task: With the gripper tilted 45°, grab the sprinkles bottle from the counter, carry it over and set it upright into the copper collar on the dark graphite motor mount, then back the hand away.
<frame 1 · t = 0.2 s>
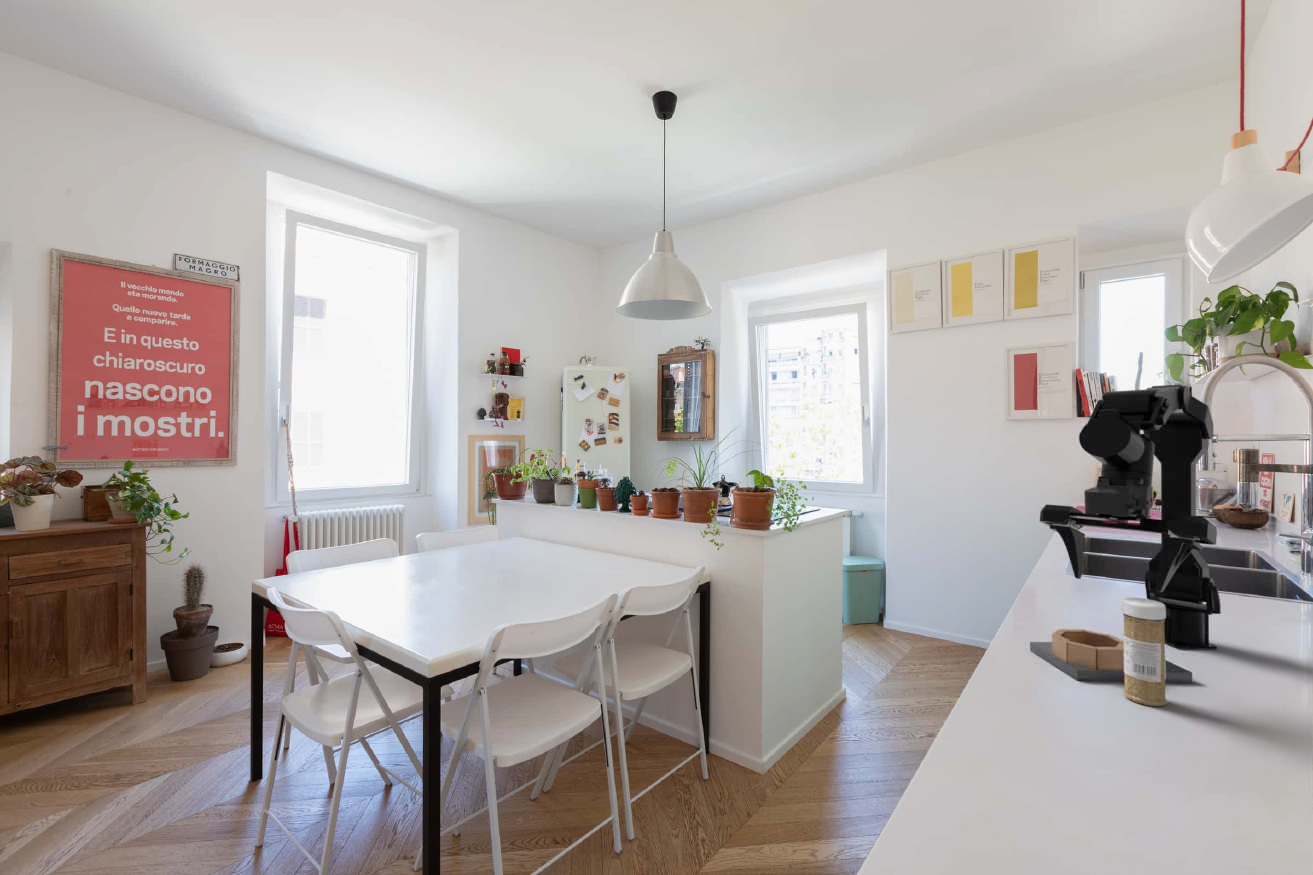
hand: (1116, 584, 81), 15 cm above the countertop, tool tilted 15°, fingers open, 9 cm apart
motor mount: (1089, 667, 90), on the countertop
sprinkles bottle: (1144, 701, 79), on the countertop
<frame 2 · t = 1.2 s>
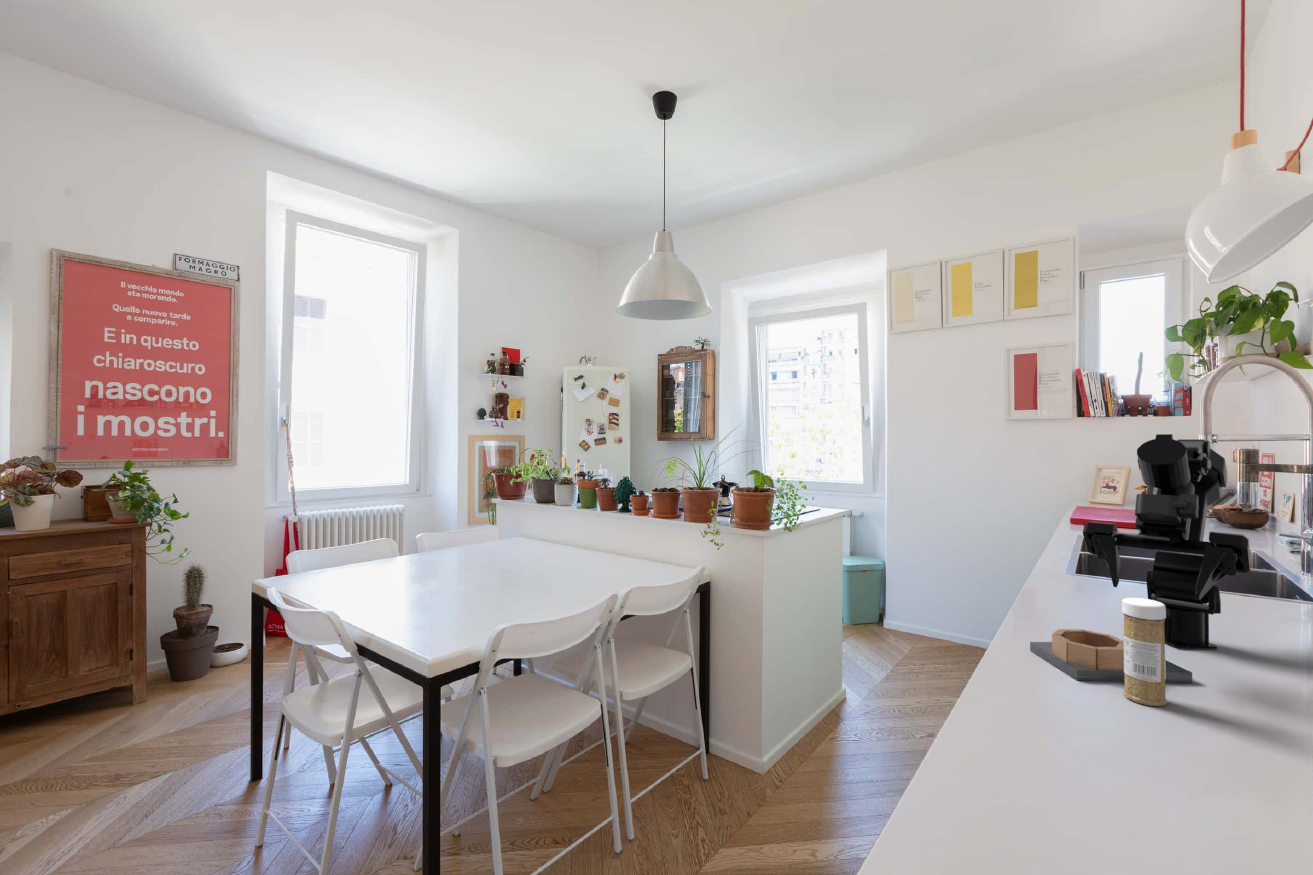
hand: (1154, 591, 85), 13 cm above the countertop, tool tilted 45°, fingers open, 9 cm apart
nothing on the countertop moved.
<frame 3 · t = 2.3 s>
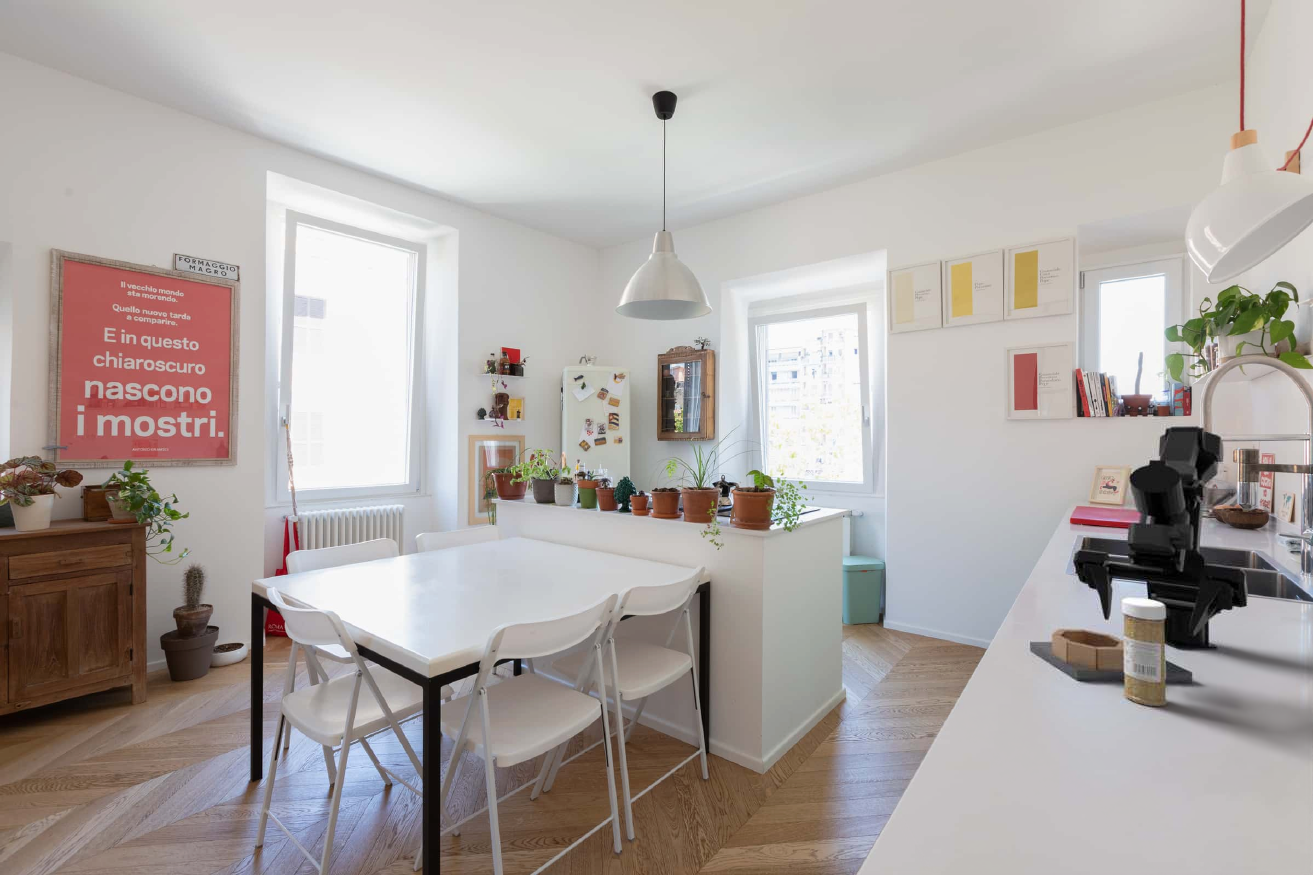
hand: (1146, 625, 81), 10 cm above the countertop, tool tilted 45°, fingers open, 9 cm apart
nothing on the countertop moved.
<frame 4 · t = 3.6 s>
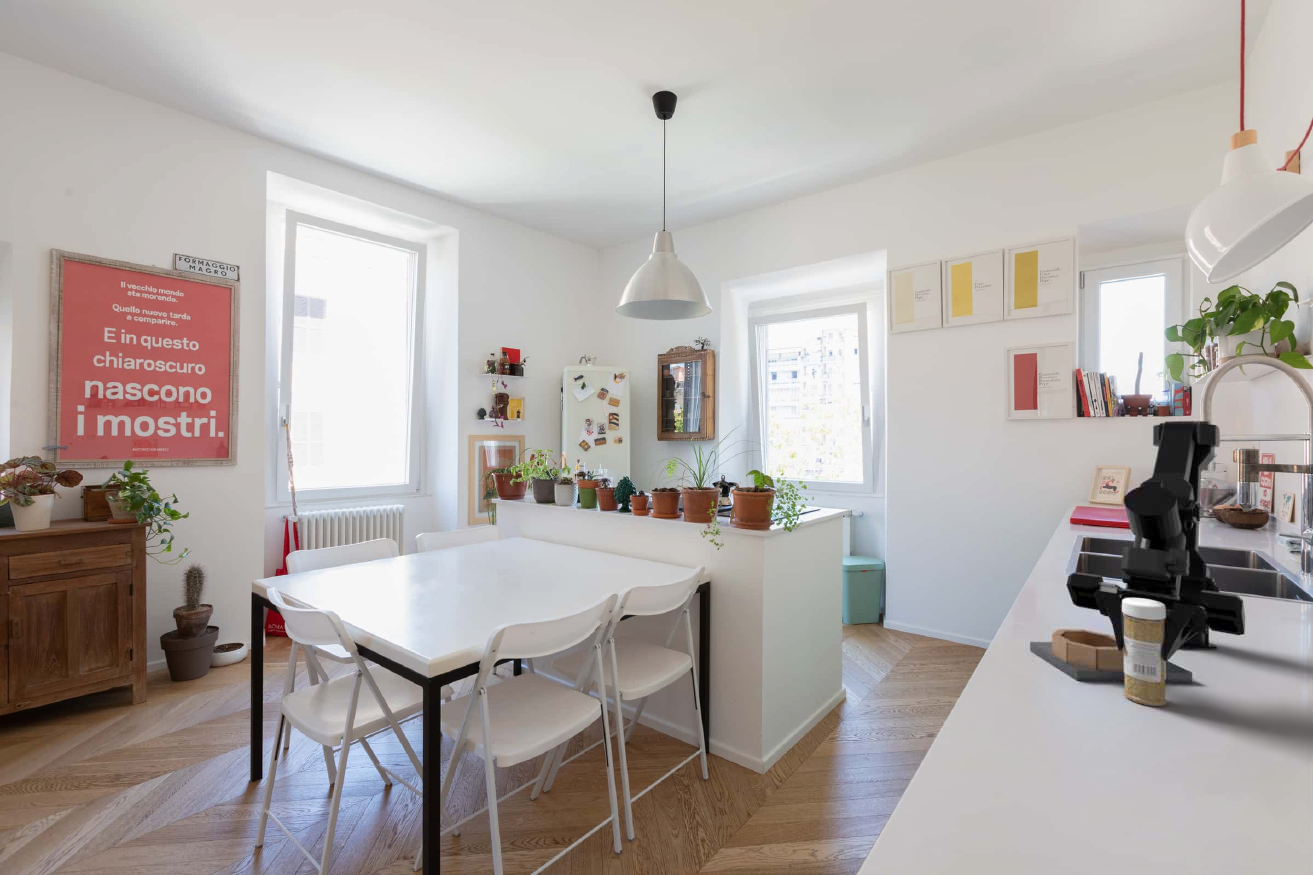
hand: (1141, 653, 79), 7 cm above the countertop, tool tilted 45°, fingers closed on sprinkles bottle, 4 cm apart
sprinkles bottle: (1144, 701, 79), on the countertop, touching gripper
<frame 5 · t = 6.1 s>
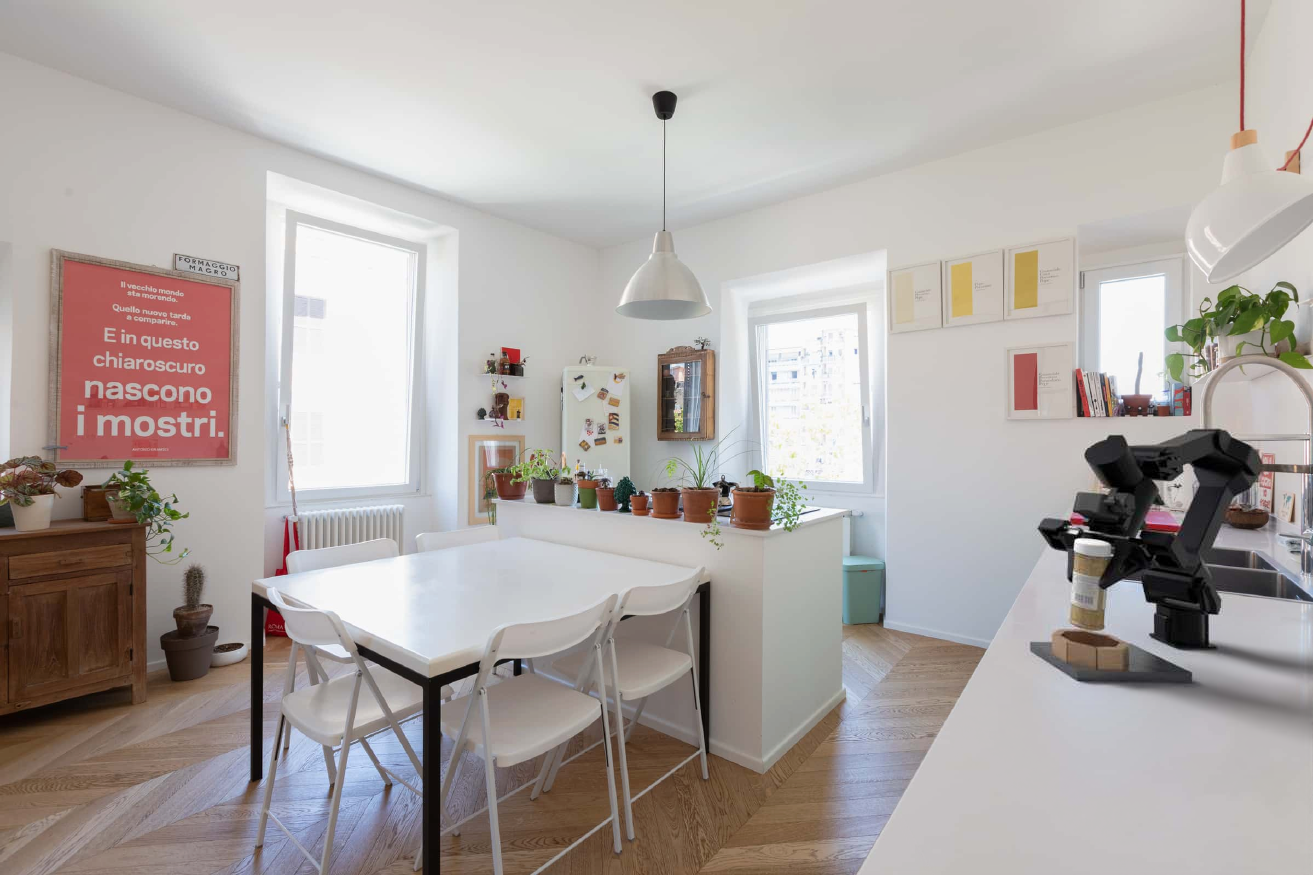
hand: (1085, 584, 90), 13 cm above the countertop, tool tilted 45°, fingers closed on sprinkles bottle, 4 cm apart
sprinkles bottle: (1085, 627, 91), point 6 cm above the countertop, touching gripper
when the fingers open (9 cm above the countertop, at t = 7.3 s): sprinkles bottle stays where it is, resting on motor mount.
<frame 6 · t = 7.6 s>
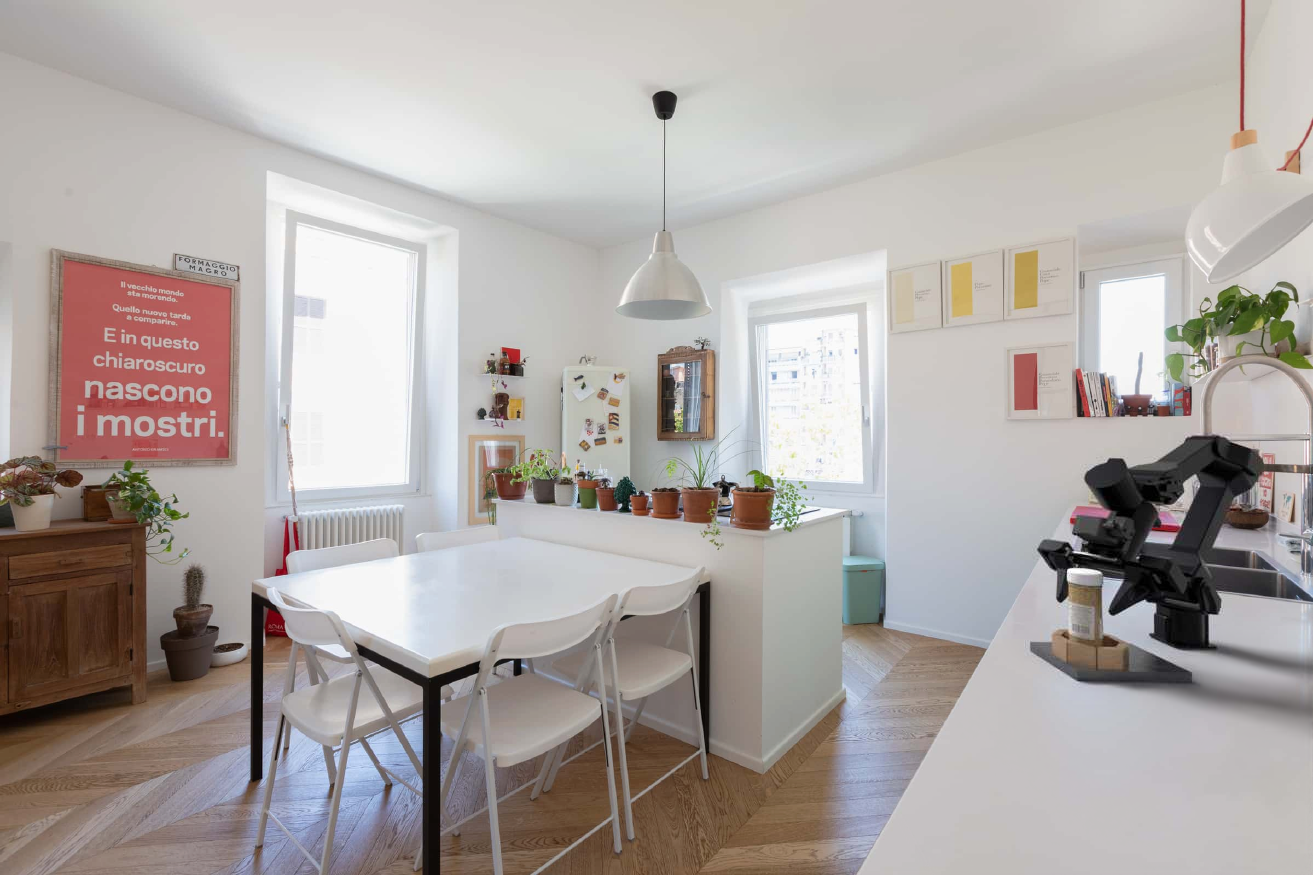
hand: (1083, 607, 90), 10 cm above the countertop, tool tilted 45°, fingers open, 7 cm apart
sprinkles bottle: (1085, 657, 91), point 1 cm above the countertop, touching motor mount
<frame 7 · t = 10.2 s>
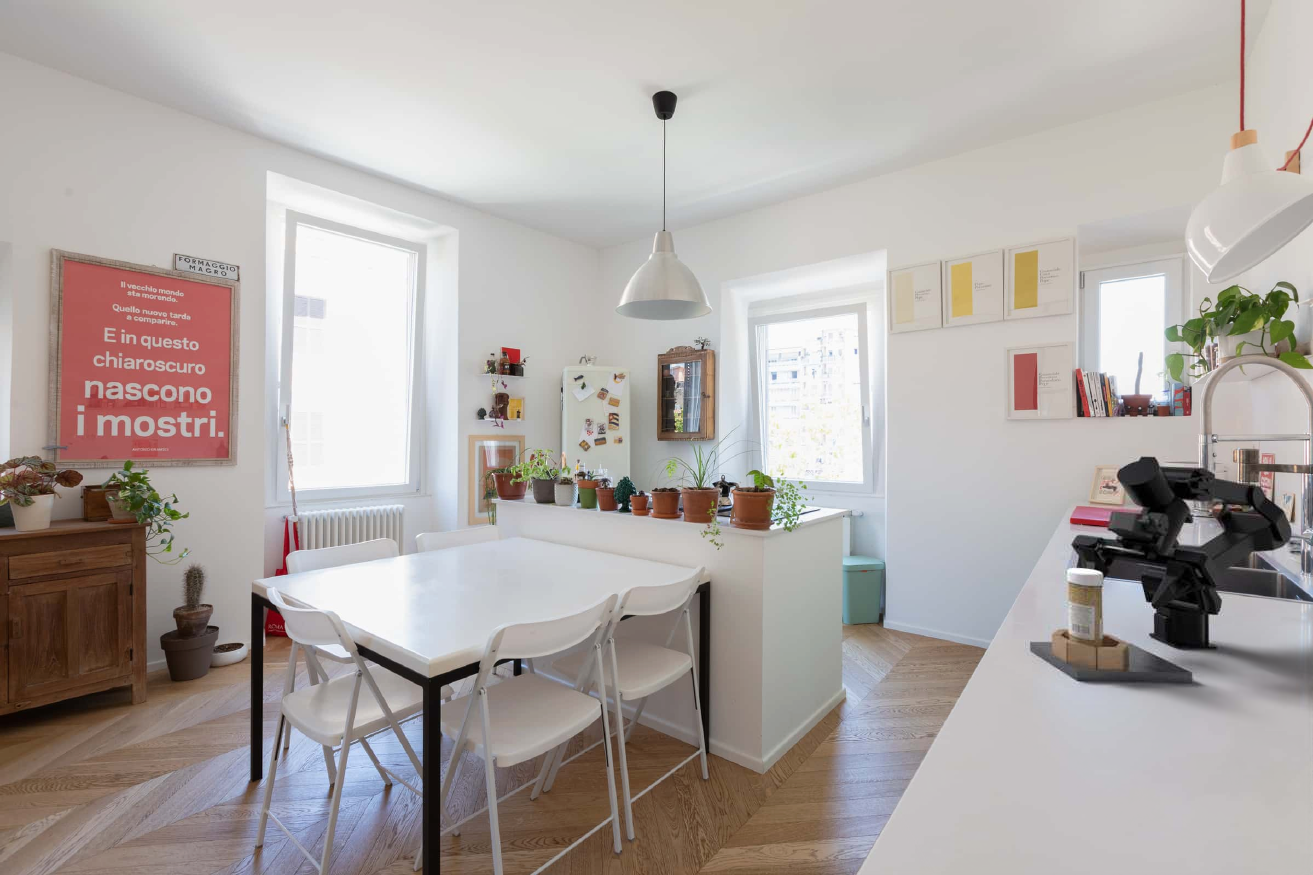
hand: (1119, 599, 94), 10 cm above the countertop, tool tilted 45°, fingers open, 9 cm apart
nothing on the countertop moved.
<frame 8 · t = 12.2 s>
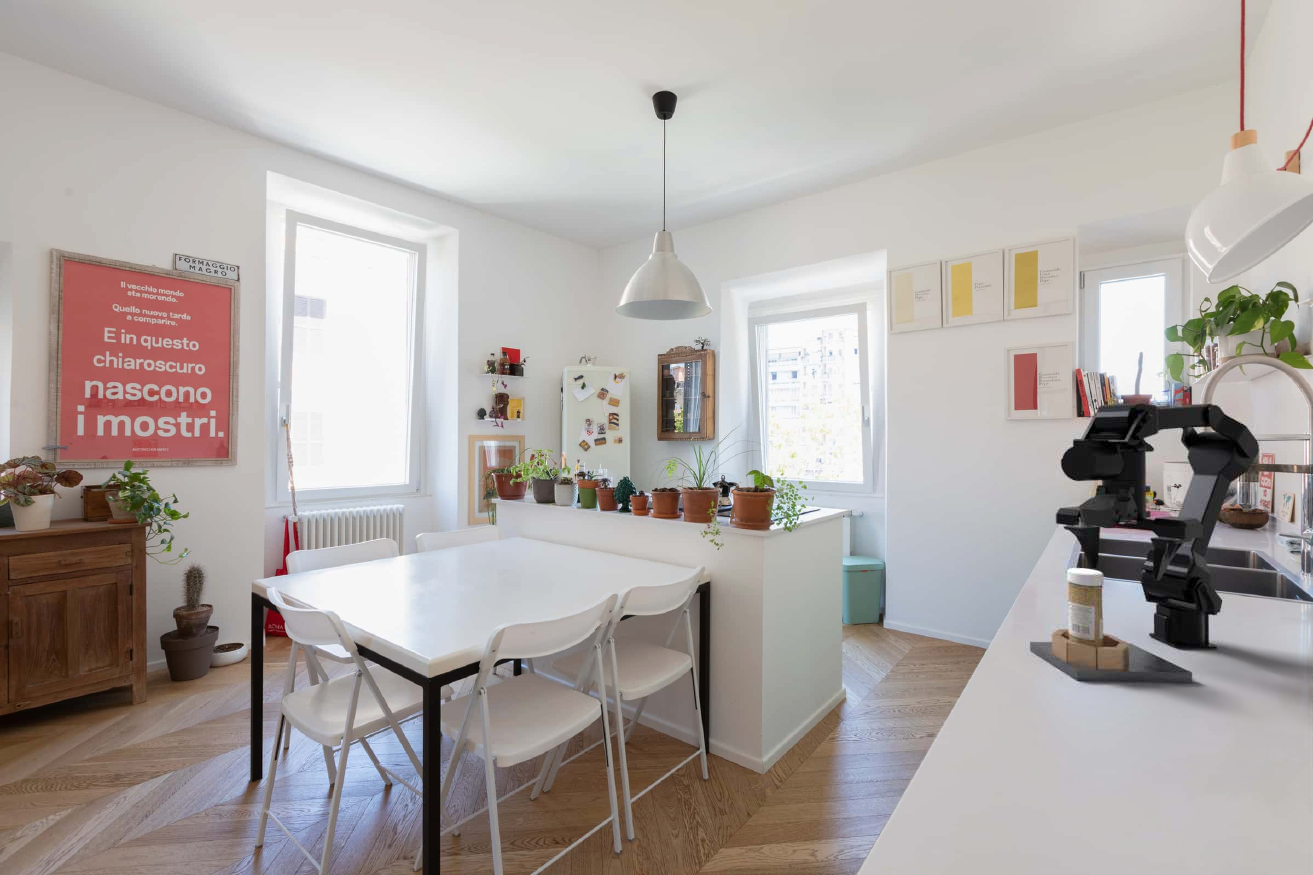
hand: (1123, 573, 97), 13 cm above the countertop, tool pointing down, fingers open, 9 cm apart
nothing on the countertop moved.
at the end: sprinkles bottle 0.6 cm off-centre on the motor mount, point 1.3 cm above the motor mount's base; sprinkles bottle tilted 0°; the gripper is holding nothing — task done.
